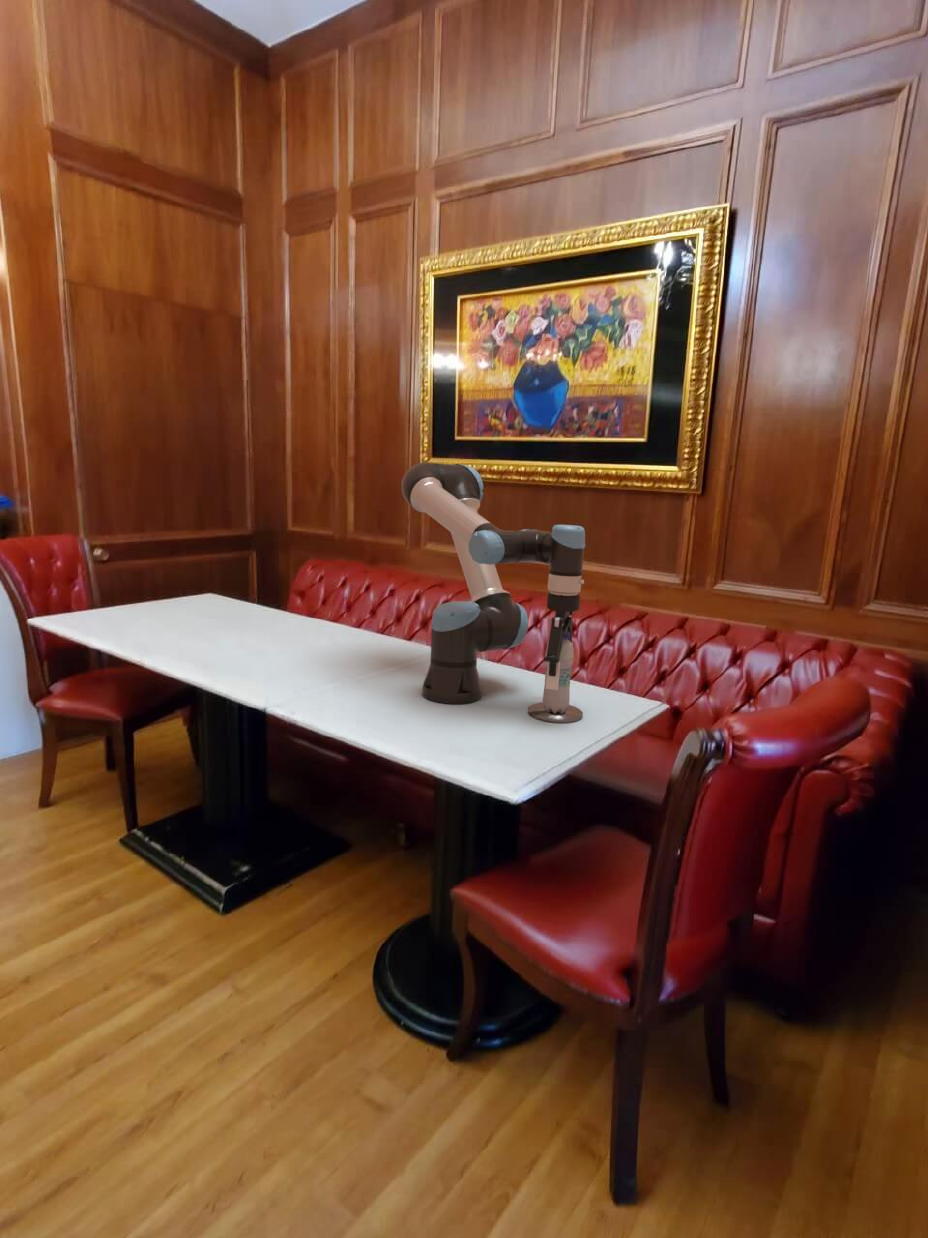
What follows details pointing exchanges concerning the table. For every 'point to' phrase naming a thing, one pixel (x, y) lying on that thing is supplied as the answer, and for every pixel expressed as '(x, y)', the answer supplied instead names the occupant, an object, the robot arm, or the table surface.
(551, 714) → the flange disc
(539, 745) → the table surface
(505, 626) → the robot arm
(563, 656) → the bottle
